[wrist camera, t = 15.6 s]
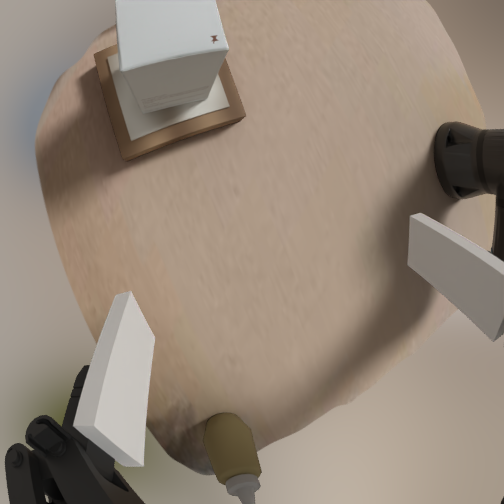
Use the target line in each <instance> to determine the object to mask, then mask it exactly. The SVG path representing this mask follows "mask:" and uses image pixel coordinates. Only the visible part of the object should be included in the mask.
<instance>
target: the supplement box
mask: <svg viewBox="0 0 504 504" xmlns="http://www.w3.org/2000/svg"><path fill="white" fill-rule="evenodd" d="M115 2H116V4H115V5H116V31H117V48H118V59H119V70H120V72H121V74H122V75H123V77H124V78H125V80H126V82H127V84H128V86H129V88H130V90H131V93H132V95H133V97H134V99H135V101H136V103H137V105H138V106H139V108H140V110H141V112H142V113H143V114H146V113H149V112H153V111H157V110H161V109H165V108H169V107H173V106H177V105H181V104H186V103H190V102H195V101H200V100H205V99H207V98H208V96H209V93H210V91H211V89H212V86H213V84H214V81H215V79H216V77H217V74H218V72H219V70H220V68H221V65H222V63H223V61H224V59H225V57H226V54H227V52H228V50H229V47H228V44H227V40H226V37H225V33H224V29H223V26H222V22H221V19H220V16H219V12H218V9H217V5H216V1H215V0H115Z"/></svg>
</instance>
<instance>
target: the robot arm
mask: <svg viewBox="0 0 504 504" xmlns="http://www.w3.org/2000/svg"><path fill="white" fill-rule="evenodd" d="M435 165H436V170H437V174H438V177H439V180H440V183H441V185H442V187H443V189H444V190H445V191H446V193H447V194H448V195H450V196H451V197H453V198H459V199H467V198H471V197H475V196H479V195H482V194H494V195H496V208H495V223H494V234H493V243H492V248H491V252H489V251H487V250H485V249H483V248H482V247H480V246H478V245H477V244H475V243H473V242H472V241H470V240H468V239H467V238H465V237H463V236H462V235H460V234H458V233H457V232H455V231H453V230H451V229H450V228H448V227H446V226H444V225H443V224H441V223H439V222H437V221H435V220H433V219H432V218H430V217H428V216H426V215H424V214H422V213H418V214H415V215H411V216H410V225H409V248H408V263H407V265H408V266H409V267H410V268H412V269H413V270H414V271H415V272H417V273H418V274H419V275H420V276H421V277H423V278H424V279H425V280H426V281H427V282H429V283H430V284H431V285H432V286H433V287H434V288H436V289H437V290H438V291H439V292H440V293H441V294H442V295H444V296H445V297H446V298H447V299H448V300H449V301H450V302H451V303H453V304H454V305H455V306H456V307H457V308H458V309H459V310H460V311H461V312H463V313H464V314H465V315H466V316H467V317H468V318H469V319H470V320H471V321H472V322H473V323H474V324H475V325H476V326H477V327H478V328H479V329H480V330H481V331H483V332H484V333H485V334H486V335H487V336H488V337H489V338H490V339H491V340H492V341H493V342H494V341H495V340H496V339H498V338H499V337H500V336H501V335H503V333H504V129H495V130H494V129H492V130H482V129H479V128H476V127H473V126H470V125H467V124H464V123H461V122H447V123H445V124H443V125H442V126H441V127H440V129H439V131H438V133H437V136H436V140H435ZM154 343H155V337H154V335H153V333H152V331H151V329H150V327H149V326H148V324H147V322H146V320H145V318H144V316H143V314H142V312H141V310H140V308H139V306H138V304H137V302H136V300H135V298H134V296H133V294H132V292H131V291H129V292H125V293H121V294H117V295H116V296H115V298H114V301H113V303H112V306H111V308H110V311H109V313H108V316H107V319H106V321H105V324H104V326H103V329H102V332H101V335H100V337H99V340H98V343H97V346H96V349H95V352H94V355H93V358H92V361H91V364H90V365H86V366H84V367H83V368H82V370H81V371H80V372H79V374H78V375H77V377H76V380H75V383H74V386H73V388H74V389H73V390H72V393H71V398H70V400H69V403H68V406H67V410H66V413H65V417H64V420H63V424H62V427H61V426H60V425H59V424H58V423H57V422H56V421H55V420H53V419H52V418H51V417H49V416H47V415H42V416H39V417H37V418H35V419H34V420H33V421H32V422H31V423H30V424H29V426H28V428H27V431H26V435H25V438H26V443H27V444H28V445H30V446H31V447H32V448H33V449H34V450H32V451H30V450H29V449H28V448H27V447H26V446H24V445H23V444H20V443H17V444H14V445H12V446H11V447H10V448H9V449H8V451H7V454H6V456H5V470H6V479H7V488H8V495H9V501H10V504H145V503H144V502H143V501H142V500H141V499H140V497H139V496H138V495H137V494H136V493H135V492H134V490H133V489H132V488H131V487H130V486H129V484H128V483H127V482H126V481H125V479H124V478H123V477H122V475H121V474H120V473H119V472H118V471H117V470H116V469H115V468H114V462H115V460H116V461H117V462H119V463H120V464H121V465H123V466H144V446H145V429H146V415H147V403H148V393H149V383H150V374H151V366H152V358H153V350H154ZM45 495H47V496H48V499H49V503H48V502H46V498H45ZM501 504H504V498H503V499H502V501H501Z"/></svg>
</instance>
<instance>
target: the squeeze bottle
mask: <svg viewBox="0 0 504 504" xmlns="http://www.w3.org/2000/svg"><path fill="white" fill-rule="evenodd" d="M203 443H204V445H205V448H206V451H207V454H208V456H209V459H210V462H211V464H212V467H213V470H214V472H215V475H216V477H217V479H218V481H219V482H220V483H221V484H224V485H226V488H227V491H228V493H229V494H230V495H232V496H238V497H239V499H240V501H241V502H242V504H255V495H254V492H256V491H257V490H258V489H259V488H260V483H259V480H258V477H259V476H260V474H261V468H260V464H259V460H258V457H257V452H256V448H255V444H254V440H253V436H252V432H251V429H250V428H249V427H248V426H247V425H246V424H245V423H244V422H243V421H242V420H241V419H240V418H239V417H238V416H237V415H235V414H232V413H221V414H217V415H215V416H213V417H211V418H210V419H209V420H208V421H207V425H206V430H205V434H204V438H203Z"/></svg>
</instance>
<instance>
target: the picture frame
mask: <svg viewBox="0 0 504 504" xmlns="http://www.w3.org/2000/svg"><path fill="white" fill-rule="evenodd" d="M94 58H95V62H96V67H97V71H98V75H99V79H100V83H101V87H102V91H103V95H104V99H105V102H106V106H107V110H108V113H109V117H110V120H111V123H112V127H113V130H114V133H115V137H116V140H117V143H118V146H119V149H120V152H121V155H122V158H123V160H125V161H129V160H132V159H134V158H136V157H139V156H141V155H144V154H146V153H148V152H151V151H153V150H156V149H158V148H161V147H164V146H166V145H169V144H172V143H174V142H177V141H180V140H183V139H185V138H188V137H191V136H194V135H197V134H200V133H203V132H206V131H209V130H212V129H215V128H219V127H222V126H225V125H228V124H232V123H235V122H239V121H241V120H242V119H243V118H244V117H245V116H246V114H245V111H244V108H243V105H242V102H241V99H240V97H239V94H238V91H237V88H236V86H235V83H234V80H233V77H232V75H231V72H230V69H229V67H228V64H227V61H226V59H224V61H223V63H222V65H221V68H220V70H219V72H218V74H217V77H216V79H215V81H214V84H213V86H212V89H211V91H210V93H209V96H208V98H207V99H205V100H200V101H195V102H190V103H186V104H181V105H177V106H173V107H169V108H165V109H161V110H157V111H153V112H149V113H146V114H143V113H142V112H141V110H140V108H139V106H138V105H137V103H136V101H135V99H134V97H133V95H132V93H131V90H130V88H129V86H128V84H127V82H126V80H125V78H124V77H123V75H122V74H121V72H120V70H119V59H118V48H117V44H116V45H114V46H111V47H109V48H106V49H104V50H102V51H99V52H97V53H95V54H94Z"/></svg>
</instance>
